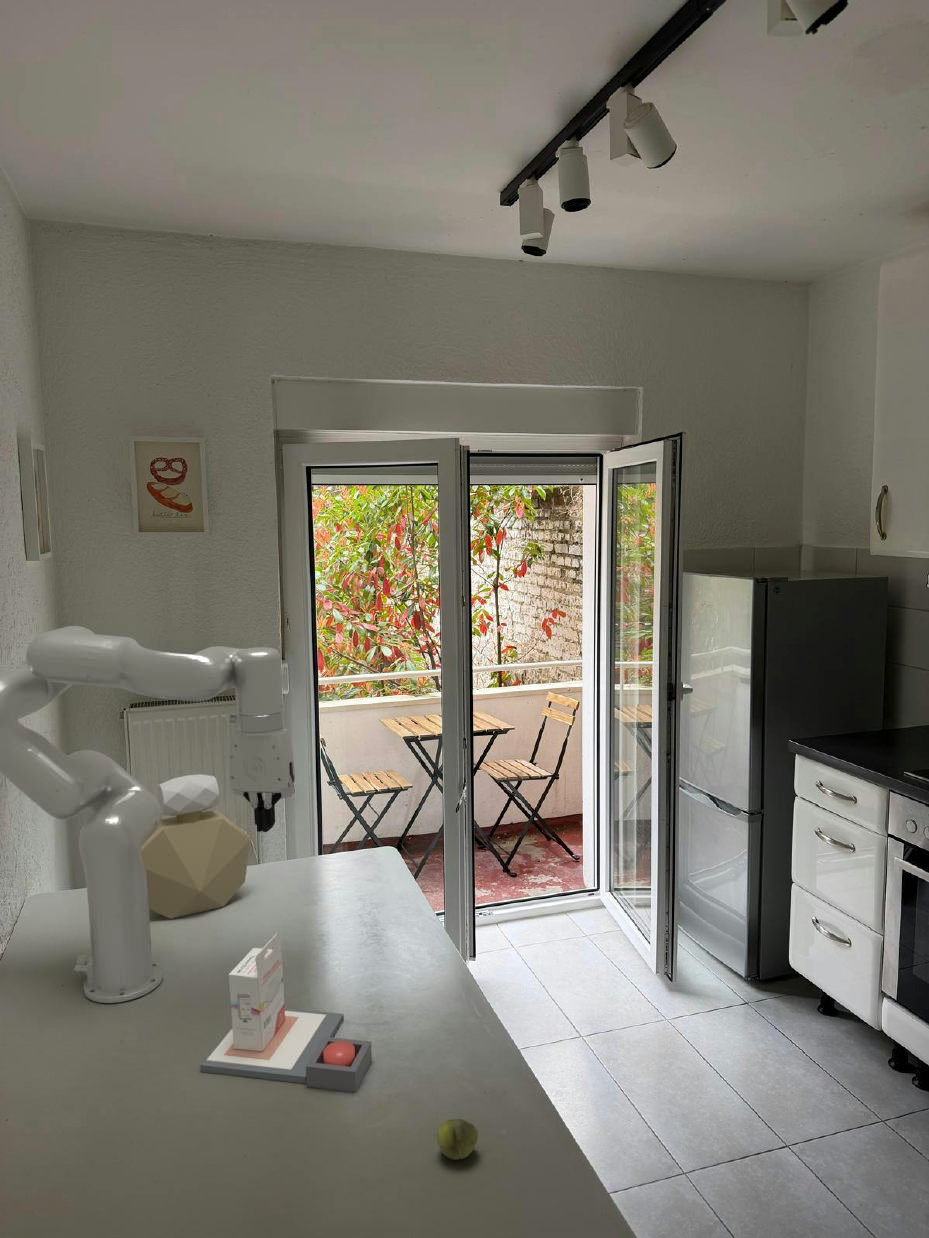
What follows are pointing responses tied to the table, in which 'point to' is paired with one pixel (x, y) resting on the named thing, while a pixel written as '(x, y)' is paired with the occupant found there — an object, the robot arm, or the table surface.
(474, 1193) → the table surface
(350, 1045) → the button
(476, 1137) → the lime
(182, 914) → the perfume bottle
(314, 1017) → the sketch board
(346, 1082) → the button housing
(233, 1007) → the ink cartridge box
